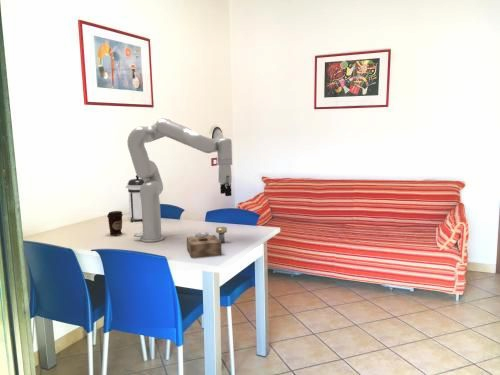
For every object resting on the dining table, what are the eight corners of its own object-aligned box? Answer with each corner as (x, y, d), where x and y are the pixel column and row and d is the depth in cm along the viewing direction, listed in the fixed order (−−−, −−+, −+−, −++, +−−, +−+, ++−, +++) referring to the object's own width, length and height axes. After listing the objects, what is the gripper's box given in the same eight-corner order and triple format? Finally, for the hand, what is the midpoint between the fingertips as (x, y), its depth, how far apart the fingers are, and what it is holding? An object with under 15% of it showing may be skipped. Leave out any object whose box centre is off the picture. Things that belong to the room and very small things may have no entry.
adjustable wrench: (191, 247, 203) (191, 244, 203) (180, 247, 205) (179, 243, 205) (210, 235, 227) (209, 232, 227) (199, 235, 229) (199, 231, 228)
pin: (217, 244, 208) (217, 229, 207) (215, 241, 213) (215, 227, 212) (228, 243, 209) (227, 228, 208) (225, 240, 214) (225, 226, 213)
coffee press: (139, 223, 259) (137, 176, 255) (122, 220, 268) (120, 175, 264) (159, 218, 273) (157, 174, 270) (143, 216, 282) (141, 173, 278)
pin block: (191, 257, 185) (190, 244, 184) (187, 249, 198) (186, 237, 197) (221, 254, 189) (221, 242, 188) (215, 247, 202) (215, 235, 201)
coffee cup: (127, 233, 232) (126, 211, 231) (117, 236, 225) (115, 213, 223) (115, 232, 236) (114, 210, 234) (105, 235, 229) (103, 212, 227)
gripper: (214, 161, 220) (215, 193, 222) (222, 163, 203) (223, 197, 206) (227, 161, 222) (228, 192, 224) (236, 162, 206) (237, 196, 208)
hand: (225, 194), depth 215 cm, fingers open, 9 cm apart
